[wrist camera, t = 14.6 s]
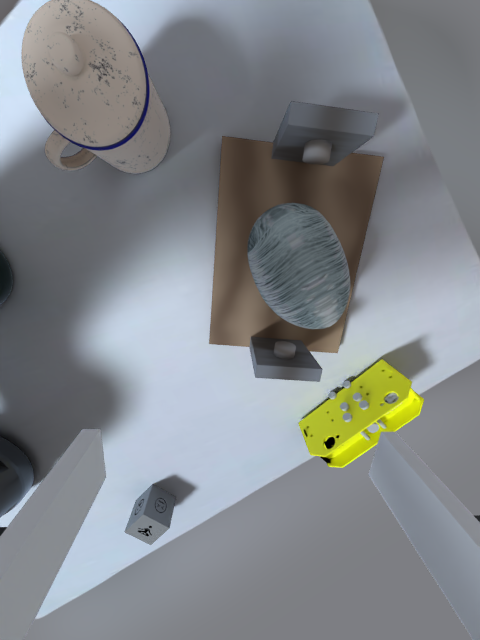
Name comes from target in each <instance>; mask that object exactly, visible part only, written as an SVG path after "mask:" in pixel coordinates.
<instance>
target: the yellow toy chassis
mask: <svg viewBox="0 0 480 640" xmlns="http://www.w3.org/2000/svg"><path fill="white" fill-rule="evenodd" d="M411 384H412V382H411V381H410V380H409V379H408V378H406V377H405V376H404V375H402V374H401V373H400V372H398V371H397V370H396V369H394V368H393V367H392V366H390V365H389V364H388V363H386V362H385V361H384V360H383V359H381V360H380V361H379V362H377V363H376V364H375V365H373V366H372V367H371V368H370V369H368V370H367V371H365V372H364V373H363V374H362V375H360V376H359V377H358V378H356V379H355V380H354V381H353V382H351V383H350V381H348V380H347V381H344V382H343V386H344V387H345V388H343V389H342V390H341V391H339V392H338V393H337V394H336V393H335V392H333V391H332V392H330V393H329V395H328V396H329V398H330V399H329V400H328V401H326V402H325V403H324V404H322V405H321V406H320V407H318V408H317V409H316V410H314V411H313V412H312V413H311V414H309V415H308V416H307V417H305V418H304V419H303V420H301V421H300V422H299V423H298V424H299V426H300V429H301V431H302V434H303V437H304V439H305V442H306V445H307V447H308V450H309V452H310V455H314V456H320V457H321V458H322V459H323V460H324V461H325V462H326V463H327V465H328V466H329V467H342V468H343V467H345V466H346V465H347V464H349V463H350V462H352V461H353V460H355V459H356V458H358V457H359V456H361V455H362V454H363V453H365V452H366V451H368V450H369V449H371V448H372V447H374V446H375V445H376V444H378V441H379V437H380V434H381V432H395V431H397V430H398V429H399V428H401V427H402V426H404V425H405V424H407V423H408V422H410V421H411V420H413V419H414V418H415V417H417V416H418V415H420V412H421V408H422V405H423V402H424V399H423V398H422V397H420V396H419V395H418V394H417V393H416V392H414V391H413V390H412V388H411Z"/></svg>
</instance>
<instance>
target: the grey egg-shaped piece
mask: <svg viewBox="0 0 480 640" xmlns="http://www.w3.org/2000/svg"><path fill="white" fill-rule="evenodd" d="M248 261H249V267H250V270H251V273H252V276H253V279H254V282H255V284H256V286H257V288H258V290H259V292H260V294H261V296H262V298H263V299H264V301H265V302H266V303H267V304H268V306H269V307H270V308H271V309H272V310H273V311H274V312H275V313H276V314H277V315H278V316H280V317H281V318H283V319H284V320H286V321H287V322H289V323H291V324H294V325H296V326H299V327H303V328H308V329H323V328H327V327H330V326H332V325H333V324H335V323H336V322H337V321H338V320H339V318H340V317H341V315H342V314H343V312H344V310H345V308H346V305H347V302H348V299H349V294H350V275H349V268H348V263H347V260H346V256H345V253H344V250H343V248H342V246H341V243H340V241H339V239H338V237H337V235H336V233H335V232H334V230H333V228H332V226H331V225H330V223H329V222H328V221H327V220H326V219H325V217H324V216H323V215H322V214H321V213H320V212H318V211H317V210H316V209H314V208H312V207H310V206H308V205H305V204H299V203H285V204H280V205H277V206H275V207H272V208H270V209H269V210H267V211H266V212H264V213H263V214H262V215H261V216H260V217H259V218H258V219H257V221H256V222H255V224H254V226H253V228H252V230H251V232H250V235H249V239H248Z"/></svg>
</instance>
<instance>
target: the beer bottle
mask: <svg viewBox="0 0 480 640" xmlns="http://www.w3.org/2000/svg"><path fill="white" fill-rule="evenodd" d="M12 279H13V278H12V273H11V269H10V266H9V264H8V261H7V260H6V258H5V256H4V255H3V253H2V252H1V251H0V305H2V304H3V303H4V302H5V300H6V299H7V298H8V296H9V294H10V292H11V289H12Z"/></svg>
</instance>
